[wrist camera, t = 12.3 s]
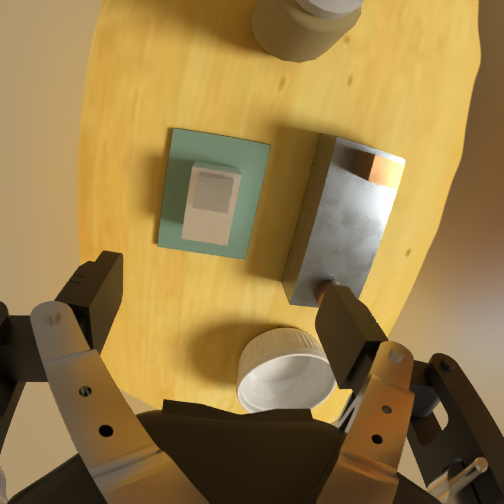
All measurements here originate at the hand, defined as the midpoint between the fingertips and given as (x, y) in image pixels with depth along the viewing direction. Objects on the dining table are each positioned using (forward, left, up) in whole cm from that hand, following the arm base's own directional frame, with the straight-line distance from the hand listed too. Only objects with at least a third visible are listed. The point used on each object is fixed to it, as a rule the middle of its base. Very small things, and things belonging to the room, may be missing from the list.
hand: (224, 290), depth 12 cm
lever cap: (+2, -1, -22) cm, 22 cm away
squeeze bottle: (-17, +3, -23) cm, 28 cm away
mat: (+2, -1, -22) cm, 23 cm away
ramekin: (+23, +12, -23) cm, 35 cm away
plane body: (+2, +13, -22) cm, 26 cm away
